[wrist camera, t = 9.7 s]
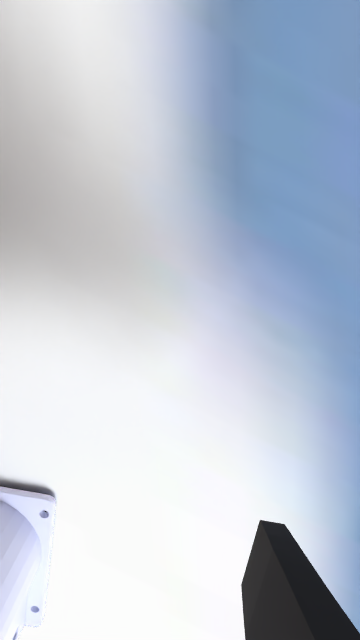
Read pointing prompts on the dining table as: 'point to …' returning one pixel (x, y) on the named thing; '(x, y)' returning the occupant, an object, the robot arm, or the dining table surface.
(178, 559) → the dining table surface
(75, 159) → the dining table surface
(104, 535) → the dining table surface
